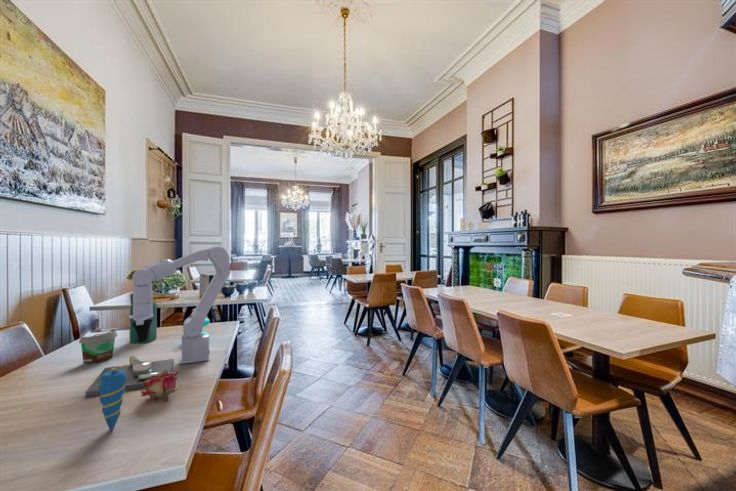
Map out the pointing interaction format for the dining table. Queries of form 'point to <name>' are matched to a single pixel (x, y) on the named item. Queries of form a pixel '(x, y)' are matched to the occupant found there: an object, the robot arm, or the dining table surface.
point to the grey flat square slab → (132, 376)
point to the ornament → (112, 395)
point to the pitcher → (152, 329)
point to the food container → (98, 347)
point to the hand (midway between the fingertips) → (143, 341)
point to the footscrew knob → (140, 366)
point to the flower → (160, 385)
